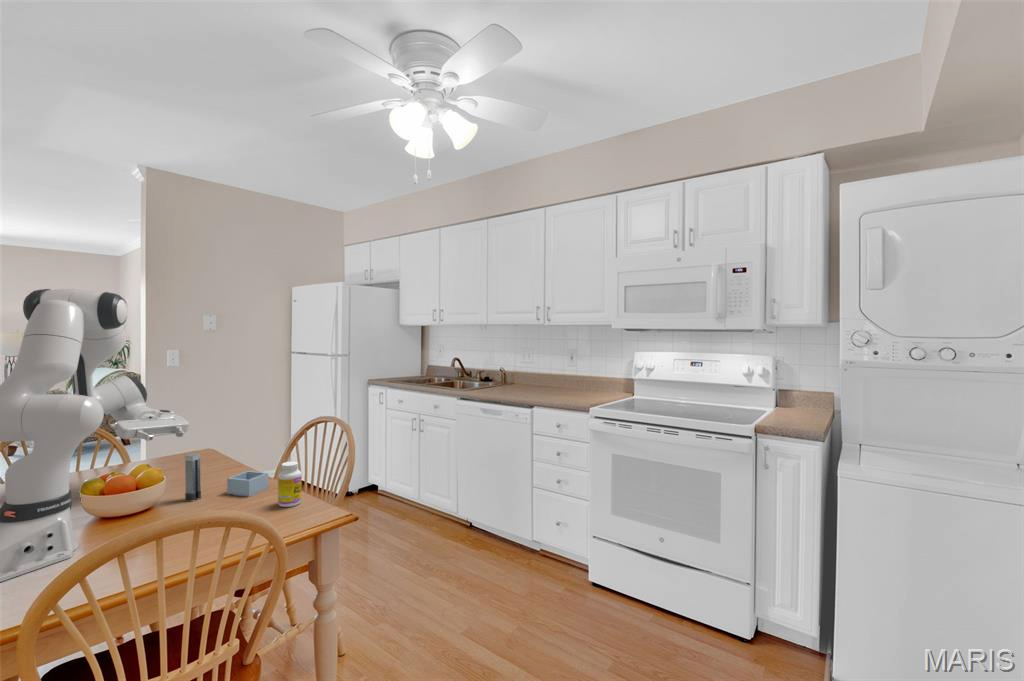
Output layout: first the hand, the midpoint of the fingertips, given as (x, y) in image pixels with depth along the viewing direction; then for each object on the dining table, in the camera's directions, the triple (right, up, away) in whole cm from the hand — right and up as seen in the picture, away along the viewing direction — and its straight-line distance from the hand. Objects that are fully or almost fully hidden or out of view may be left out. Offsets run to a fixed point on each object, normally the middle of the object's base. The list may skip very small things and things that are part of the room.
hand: (166, 436), depth 157 cm
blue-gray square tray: (+23, -20, +6) cm, 31 cm away
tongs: (+10, -20, -2) cm, 22 cm away
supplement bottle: (+42, -20, -5) cm, 47 cm away
